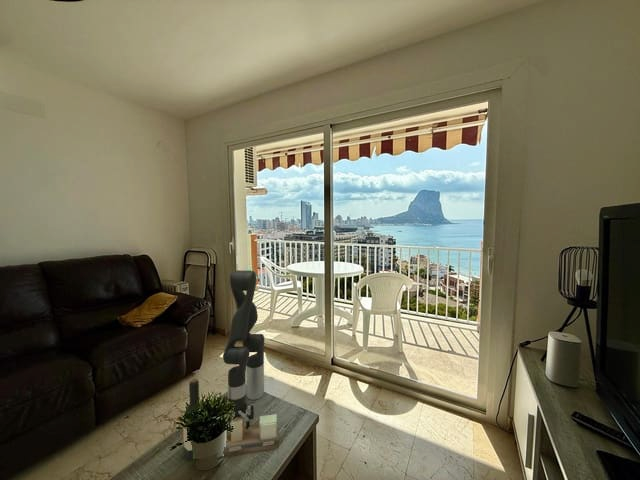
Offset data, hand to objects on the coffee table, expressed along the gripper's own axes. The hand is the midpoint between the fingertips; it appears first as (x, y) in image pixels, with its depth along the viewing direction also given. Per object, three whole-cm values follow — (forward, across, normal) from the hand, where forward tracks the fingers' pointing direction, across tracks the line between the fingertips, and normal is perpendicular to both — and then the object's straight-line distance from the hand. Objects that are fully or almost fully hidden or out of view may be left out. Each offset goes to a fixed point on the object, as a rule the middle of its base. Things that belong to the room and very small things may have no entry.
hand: (237, 429), depth 108 cm
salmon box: (+2, 0, 0) cm, 2 cm away
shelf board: (+4, -5, +2) cm, 7 cm away
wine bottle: (+5, +16, +3) cm, 17 cm away
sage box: (+2, -13, +4) cm, 14 cm away
